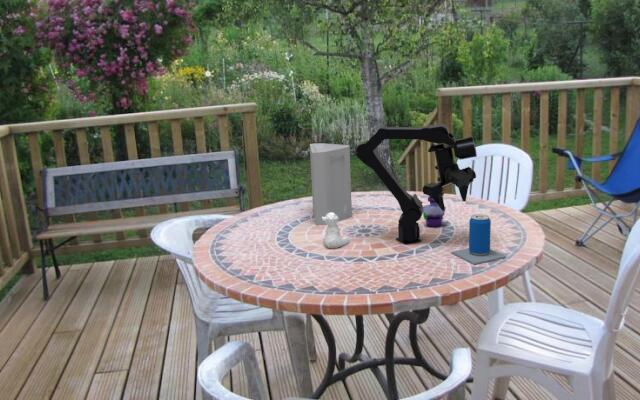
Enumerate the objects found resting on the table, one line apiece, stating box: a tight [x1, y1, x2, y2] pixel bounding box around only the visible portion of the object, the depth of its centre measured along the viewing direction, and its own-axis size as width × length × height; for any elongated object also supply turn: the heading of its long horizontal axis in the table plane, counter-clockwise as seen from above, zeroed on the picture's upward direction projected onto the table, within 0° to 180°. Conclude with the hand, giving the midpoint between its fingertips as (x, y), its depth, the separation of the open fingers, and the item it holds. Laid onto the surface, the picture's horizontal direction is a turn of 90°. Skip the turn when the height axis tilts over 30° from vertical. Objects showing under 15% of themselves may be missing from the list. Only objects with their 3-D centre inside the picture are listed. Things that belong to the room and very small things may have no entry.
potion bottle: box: [422, 195, 447, 229], centre depth 233 cm, size 9×9×12 cm
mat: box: [450, 247, 507, 266], centre depth 202 cm, size 12×12×1 cm
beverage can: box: [468, 213, 492, 256], centre depth 201 cm, size 6×6×12 cm
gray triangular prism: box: [309, 142, 353, 226], centre depth 247 cm, size 19×15×28 cm
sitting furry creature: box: [322, 212, 351, 249], centre depth 217 cm, size 10×9×12 cm
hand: (454, 205), depth 214 cm, fingers open, 9 cm apart
